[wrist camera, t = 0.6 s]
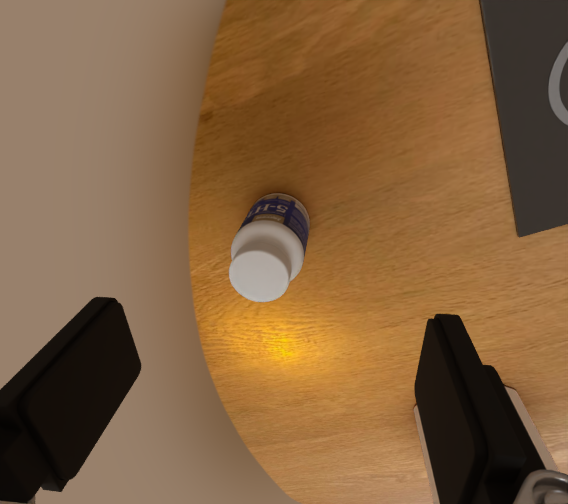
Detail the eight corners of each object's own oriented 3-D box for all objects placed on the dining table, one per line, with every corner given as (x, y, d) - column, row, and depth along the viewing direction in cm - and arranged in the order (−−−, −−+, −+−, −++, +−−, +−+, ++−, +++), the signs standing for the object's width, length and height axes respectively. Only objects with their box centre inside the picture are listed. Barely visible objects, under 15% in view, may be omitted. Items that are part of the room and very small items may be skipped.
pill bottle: (292, 181, 28) (275, 228, 21) (320, 234, 30) (314, 295, 22) (237, 207, 30) (203, 260, 22) (267, 256, 32) (245, 319, 24)
